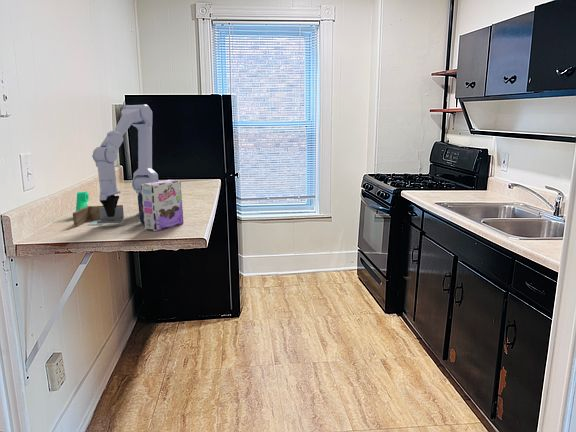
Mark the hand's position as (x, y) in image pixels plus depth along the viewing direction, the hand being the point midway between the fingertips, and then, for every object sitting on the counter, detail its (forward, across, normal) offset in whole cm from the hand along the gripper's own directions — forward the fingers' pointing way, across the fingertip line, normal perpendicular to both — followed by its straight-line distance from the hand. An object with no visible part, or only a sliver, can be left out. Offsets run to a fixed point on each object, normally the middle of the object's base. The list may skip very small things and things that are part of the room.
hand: (111, 216), depth 166 cm
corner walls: (+3, +6, +7) cm, 9 cm away
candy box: (+4, -6, -20) cm, 22 cm away
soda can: (+4, +1, -13) cm, 14 cm away
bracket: (+2, -2, 0) cm, 2 cm away
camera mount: (+4, +20, +15) cm, 25 cm away
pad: (+3, +5, +7) cm, 9 cm away
